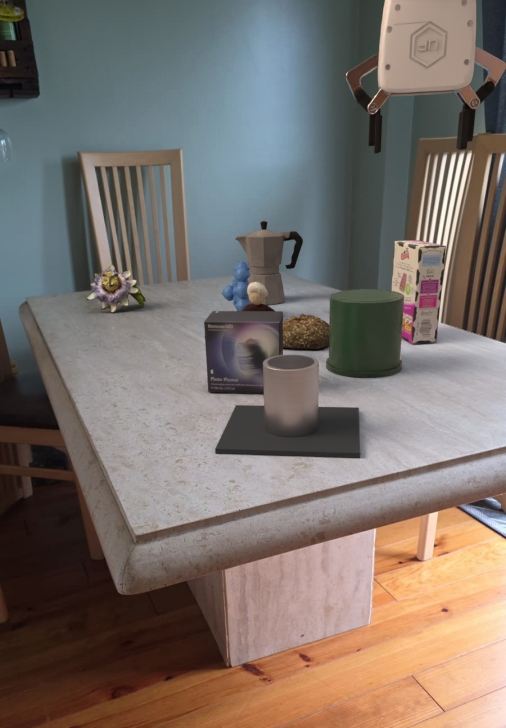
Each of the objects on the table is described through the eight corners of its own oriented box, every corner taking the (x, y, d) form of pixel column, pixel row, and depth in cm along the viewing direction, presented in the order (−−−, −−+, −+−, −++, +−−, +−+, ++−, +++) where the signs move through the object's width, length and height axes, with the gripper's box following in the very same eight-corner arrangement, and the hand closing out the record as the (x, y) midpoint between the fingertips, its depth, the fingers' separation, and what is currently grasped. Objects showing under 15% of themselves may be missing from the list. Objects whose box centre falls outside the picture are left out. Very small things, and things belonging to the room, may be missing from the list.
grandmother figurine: (236, 364, 101) (232, 284, 96) (236, 357, 105) (232, 280, 99) (283, 362, 101) (282, 282, 96) (281, 355, 105) (280, 278, 99)
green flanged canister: (399, 356, 102) (404, 287, 98) (404, 378, 92) (410, 302, 87) (327, 355, 104) (328, 288, 99) (324, 377, 93) (325, 303, 89)
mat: (358, 411, 80) (358, 407, 80) (359, 457, 67) (360, 452, 67) (236, 409, 82) (235, 404, 82) (215, 453, 70) (214, 448, 69)
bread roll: (321, 353, 105) (321, 324, 103) (255, 347, 110) (254, 319, 108) (344, 335, 116) (344, 308, 114) (282, 331, 120) (282, 305, 118)
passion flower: (117, 335, 144) (80, 297, 137) (113, 317, 153) (78, 280, 145) (155, 305, 142) (120, 265, 135) (148, 289, 151) (115, 250, 144)
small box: (206, 394, 88) (201, 320, 84) (215, 379, 94) (210, 310, 90) (280, 395, 87) (279, 320, 82) (284, 380, 92) (283, 310, 88)
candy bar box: (438, 343, 109) (447, 245, 102) (411, 345, 108) (419, 246, 101) (412, 328, 119) (419, 238, 112) (387, 330, 118) (392, 240, 111)
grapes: (223, 316, 134) (220, 258, 130) (254, 314, 134) (253, 257, 130) (222, 328, 124) (218, 266, 119) (255, 327, 124) (253, 265, 119)
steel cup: (319, 417, 77) (320, 354, 74) (316, 437, 71) (317, 370, 68) (268, 416, 78) (266, 353, 75) (261, 436, 72) (259, 369, 69)
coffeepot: (236, 306, 144) (233, 223, 136) (239, 298, 152) (236, 220, 145) (303, 304, 143) (303, 221, 135) (302, 296, 151) (302, 218, 144)
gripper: (347, -31, 64) (344, 154, 71) (525, -47, 61) (503, 147, 68) (347, -13, 70) (344, 155, 77) (507, -26, 68) (489, 148, 75)
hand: (418, 151), depth 73 cm, fingers open, 9 cm apart
